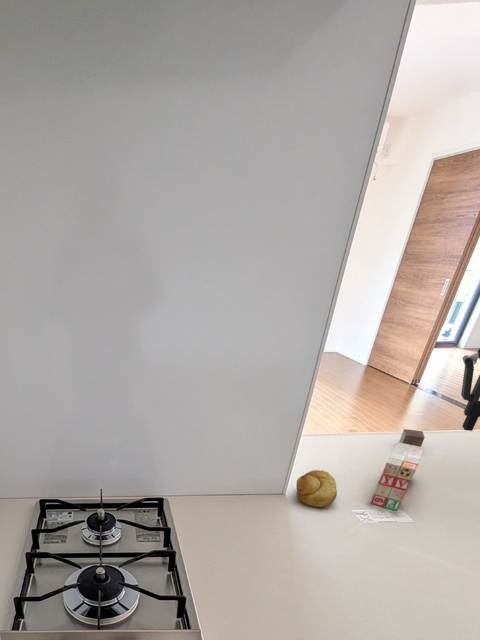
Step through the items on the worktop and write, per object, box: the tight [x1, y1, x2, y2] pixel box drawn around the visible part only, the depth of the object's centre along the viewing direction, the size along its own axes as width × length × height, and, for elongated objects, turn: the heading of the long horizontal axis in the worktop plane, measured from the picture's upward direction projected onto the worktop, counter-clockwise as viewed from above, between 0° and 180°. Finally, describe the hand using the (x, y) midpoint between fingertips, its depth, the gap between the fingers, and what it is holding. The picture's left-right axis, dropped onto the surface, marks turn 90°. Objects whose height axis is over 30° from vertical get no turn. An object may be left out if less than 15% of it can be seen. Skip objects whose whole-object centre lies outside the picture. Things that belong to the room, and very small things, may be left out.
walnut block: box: [398, 428, 426, 447], centre depth 136 cm, size 5×5×5 cm
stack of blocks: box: [370, 442, 425, 512], centre depth 114 cm, size 21×6×12 cm, turn 141°
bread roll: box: [295, 469, 338, 508], centre depth 114 cm, size 13×10×8 cm
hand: (467, 428), depth 106 cm, fingers closed
